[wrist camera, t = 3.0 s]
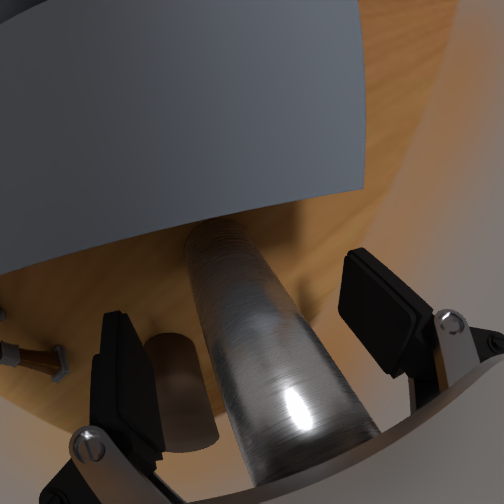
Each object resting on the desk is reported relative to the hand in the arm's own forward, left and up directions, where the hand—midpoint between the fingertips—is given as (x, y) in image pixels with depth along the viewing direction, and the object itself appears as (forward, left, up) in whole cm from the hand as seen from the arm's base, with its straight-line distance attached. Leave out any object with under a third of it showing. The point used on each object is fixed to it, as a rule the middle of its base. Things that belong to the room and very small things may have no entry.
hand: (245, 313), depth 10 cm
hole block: (-13, -3, -5) cm, 14 cm away
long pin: (0, 0, -5) cm, 5 cm away
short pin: (+6, -4, -5) cm, 9 cm away
